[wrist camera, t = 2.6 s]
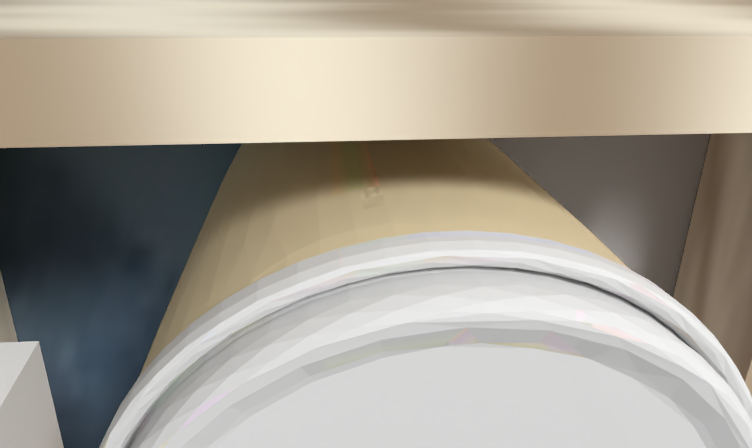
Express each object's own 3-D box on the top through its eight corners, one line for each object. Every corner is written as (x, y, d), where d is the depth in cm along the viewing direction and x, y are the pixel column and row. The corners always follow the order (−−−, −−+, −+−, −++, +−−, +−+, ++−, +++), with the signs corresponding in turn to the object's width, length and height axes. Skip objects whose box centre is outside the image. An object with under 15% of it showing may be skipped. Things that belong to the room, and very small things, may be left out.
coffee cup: (450, 374, 23) (597, 817, 12) (158, 309, 20) (9, 781, 10) (576, 106, 19) (950, 387, 8) (240, -8, 17) (152, 173, 6)
